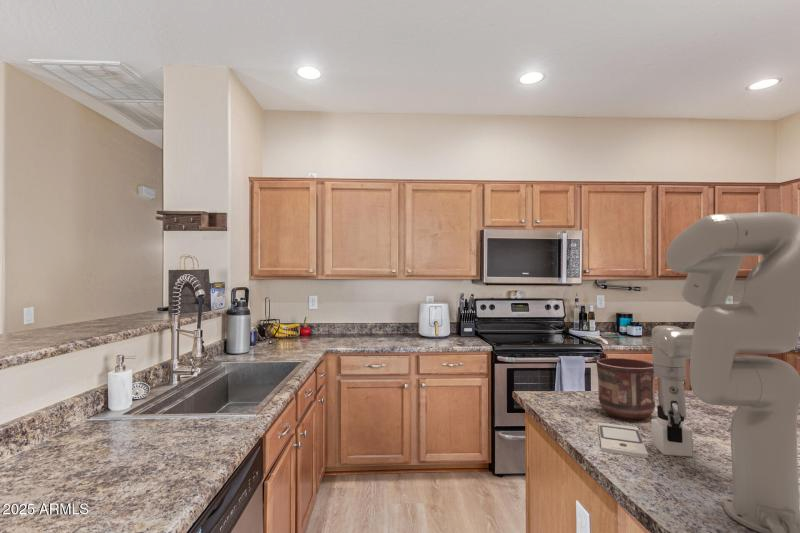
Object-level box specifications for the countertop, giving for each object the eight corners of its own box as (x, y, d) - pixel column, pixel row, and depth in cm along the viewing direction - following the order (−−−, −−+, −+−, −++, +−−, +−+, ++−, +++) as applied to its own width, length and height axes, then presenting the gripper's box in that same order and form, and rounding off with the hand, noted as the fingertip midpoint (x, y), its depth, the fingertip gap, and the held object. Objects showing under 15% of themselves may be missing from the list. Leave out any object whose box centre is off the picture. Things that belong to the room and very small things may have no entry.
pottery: (645, 429, 121) (644, 371, 122) (588, 414, 135) (587, 361, 135) (665, 416, 132) (663, 363, 133) (610, 403, 146) (609, 355, 146)
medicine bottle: (693, 457, 102) (691, 411, 103) (663, 455, 104) (661, 409, 104) (679, 445, 109) (678, 402, 110) (651, 443, 111) (650, 401, 111)
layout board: (648, 458, 102) (648, 453, 102) (601, 451, 107) (601, 446, 107) (637, 430, 120) (637, 426, 120) (598, 425, 125) (598, 421, 125)
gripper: (694, 380, 98) (696, 451, 97) (678, 365, 114) (680, 426, 113) (659, 377, 101) (661, 445, 100) (647, 363, 117) (649, 422, 116)
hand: (671, 435), depth 107 cm, fingers closed on medicine bottle, 8 cm apart
